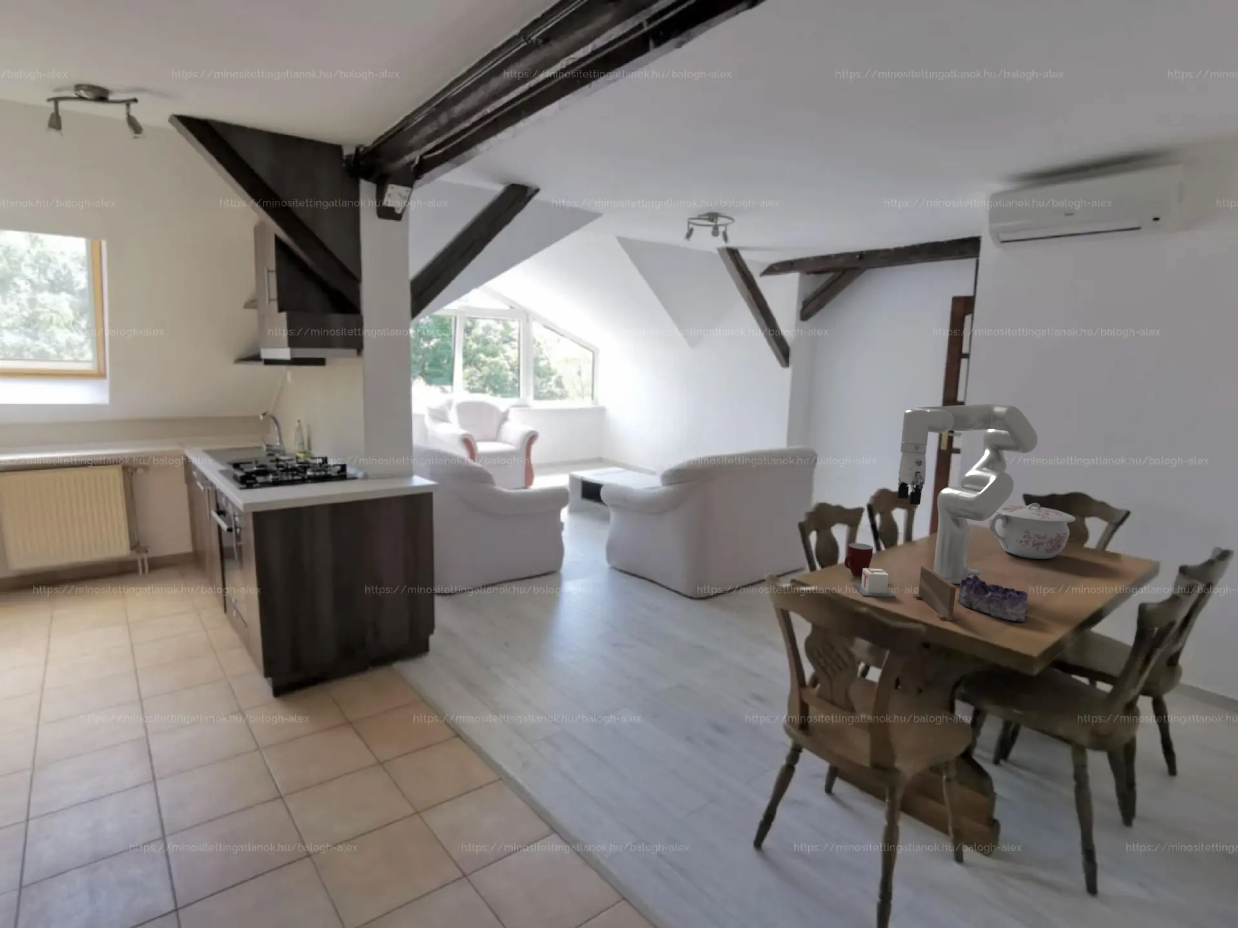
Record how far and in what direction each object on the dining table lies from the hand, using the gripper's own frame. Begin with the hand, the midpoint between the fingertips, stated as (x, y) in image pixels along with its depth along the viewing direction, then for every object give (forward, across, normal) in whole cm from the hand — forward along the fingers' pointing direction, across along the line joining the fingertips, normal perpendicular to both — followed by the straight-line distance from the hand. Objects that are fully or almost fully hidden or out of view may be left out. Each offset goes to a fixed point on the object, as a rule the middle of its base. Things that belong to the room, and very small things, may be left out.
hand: (908, 501), depth 216 cm
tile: (+28, -7, +11) cm, 31 cm away
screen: (+28, -20, -2) cm, 35 cm away
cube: (+28, -7, +11) cm, 31 cm away
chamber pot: (+29, +46, -67) cm, 86 cm away
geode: (+29, -21, -19) cm, 40 cm away
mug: (+28, +10, +11) cm, 32 cm away
